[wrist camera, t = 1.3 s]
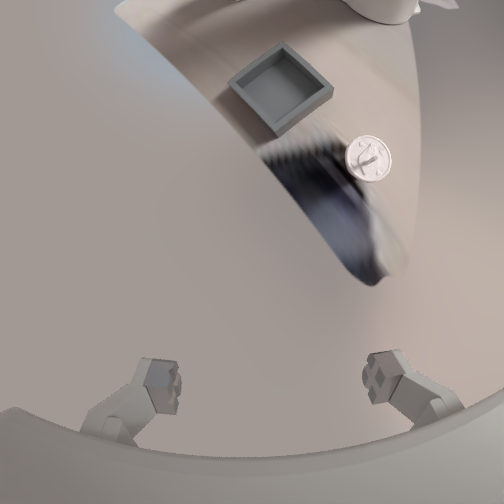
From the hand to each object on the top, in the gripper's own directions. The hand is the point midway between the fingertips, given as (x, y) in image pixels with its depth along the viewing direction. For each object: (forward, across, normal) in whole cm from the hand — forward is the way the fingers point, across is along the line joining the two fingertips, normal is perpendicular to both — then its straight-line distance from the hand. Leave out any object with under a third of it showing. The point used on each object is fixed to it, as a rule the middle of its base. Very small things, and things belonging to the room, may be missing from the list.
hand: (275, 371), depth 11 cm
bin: (+40, -5, -18) cm, 44 cm away
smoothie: (+35, -17, -6) cm, 39 cm away
